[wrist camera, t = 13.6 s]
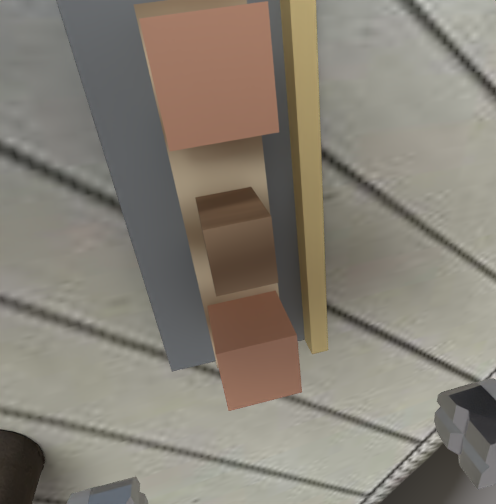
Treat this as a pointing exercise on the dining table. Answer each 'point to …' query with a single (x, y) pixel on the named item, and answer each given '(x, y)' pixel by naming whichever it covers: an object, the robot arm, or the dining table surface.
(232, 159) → the pallet
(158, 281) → the dock
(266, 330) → the block
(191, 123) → the block
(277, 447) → the dining table surface
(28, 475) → the pillar candle
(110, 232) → the dining table surface
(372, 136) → the dining table surface
